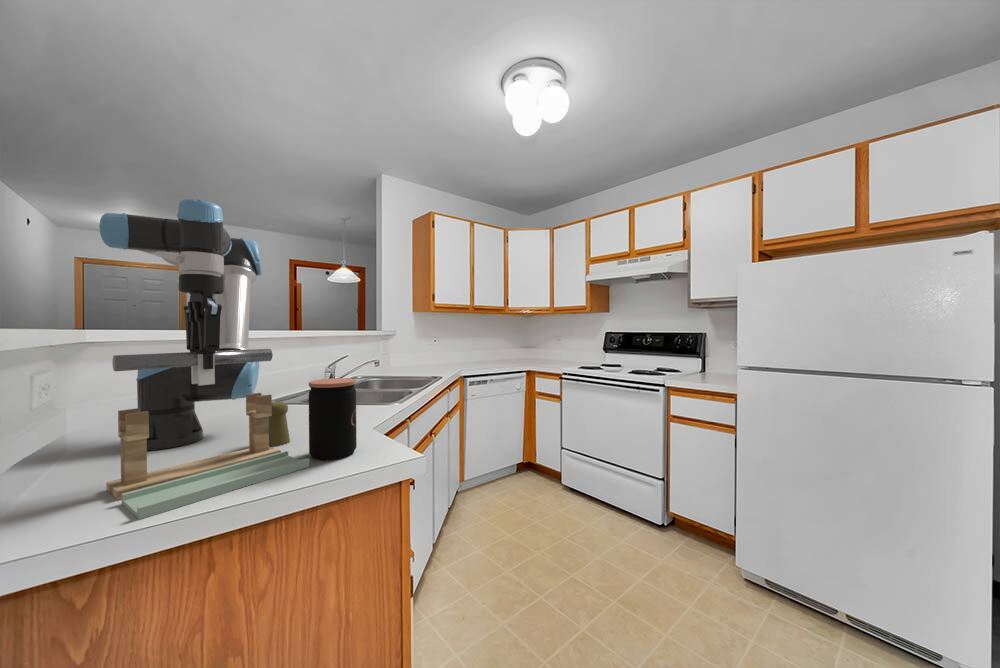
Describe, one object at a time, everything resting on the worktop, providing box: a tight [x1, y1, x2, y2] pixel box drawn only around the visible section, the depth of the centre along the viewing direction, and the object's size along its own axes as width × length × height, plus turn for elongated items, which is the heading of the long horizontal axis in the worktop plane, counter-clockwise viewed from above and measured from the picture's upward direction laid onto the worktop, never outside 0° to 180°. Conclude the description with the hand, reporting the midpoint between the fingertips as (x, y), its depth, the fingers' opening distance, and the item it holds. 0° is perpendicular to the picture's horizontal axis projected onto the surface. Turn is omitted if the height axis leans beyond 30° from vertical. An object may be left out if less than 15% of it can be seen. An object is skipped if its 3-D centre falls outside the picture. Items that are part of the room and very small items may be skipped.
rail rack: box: [106, 392, 282, 501], centre depth 81 cm, size 8×28×15 cm, turn 146°
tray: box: [121, 450, 310, 521], centre depth 75 cm, size 10×28×2 cm, turn 146°
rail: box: [111, 348, 274, 372], centre depth 81 cm, size 27×3×3 cm, turn 146°
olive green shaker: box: [269, 401, 291, 447], centre depth 101 cm, size 6×6×11 cm
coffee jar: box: [308, 377, 358, 461], centre depth 92 cm, size 11×11×18 cm
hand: (203, 383), depth 81 cm, fingers closed on rail, 3 cm apart
